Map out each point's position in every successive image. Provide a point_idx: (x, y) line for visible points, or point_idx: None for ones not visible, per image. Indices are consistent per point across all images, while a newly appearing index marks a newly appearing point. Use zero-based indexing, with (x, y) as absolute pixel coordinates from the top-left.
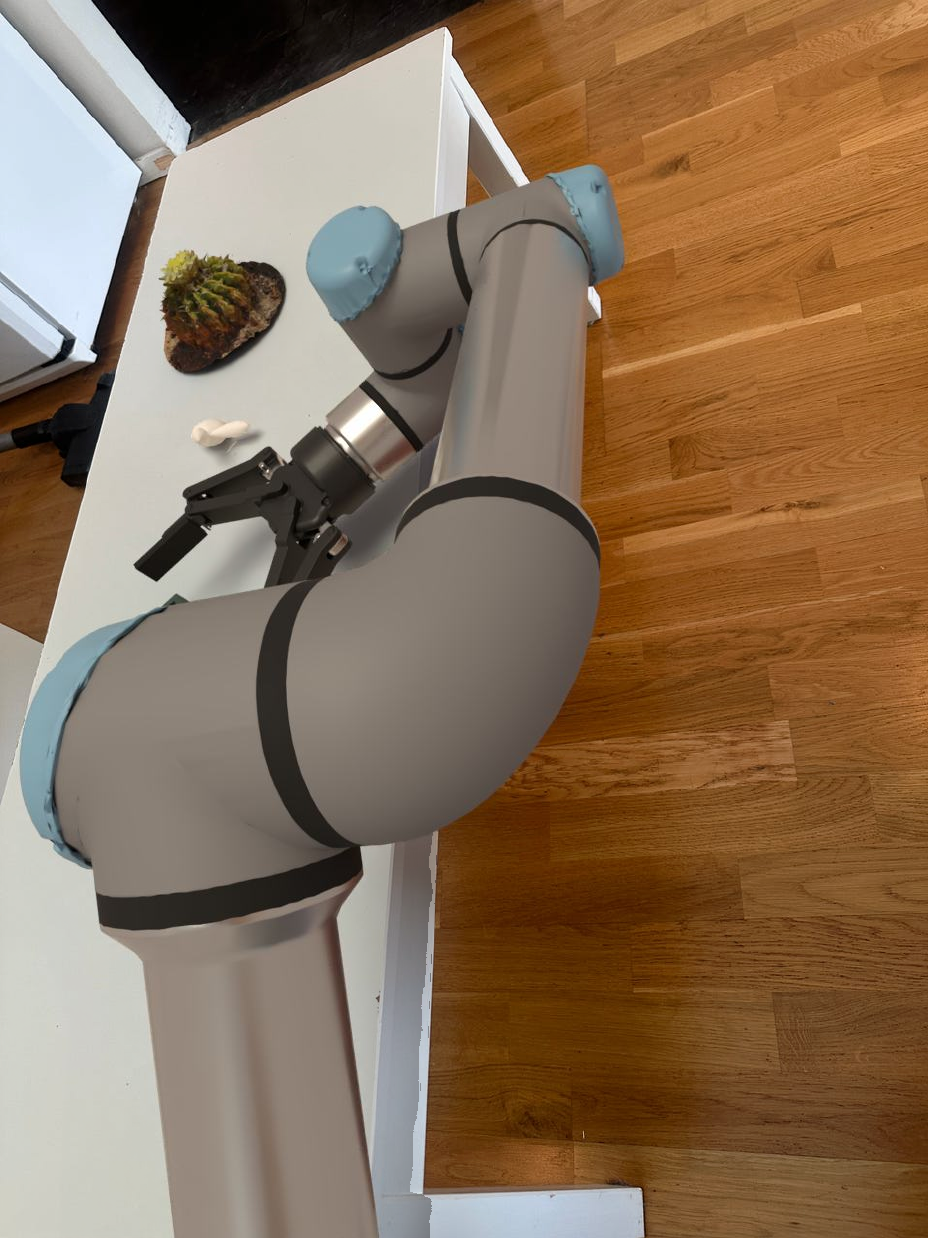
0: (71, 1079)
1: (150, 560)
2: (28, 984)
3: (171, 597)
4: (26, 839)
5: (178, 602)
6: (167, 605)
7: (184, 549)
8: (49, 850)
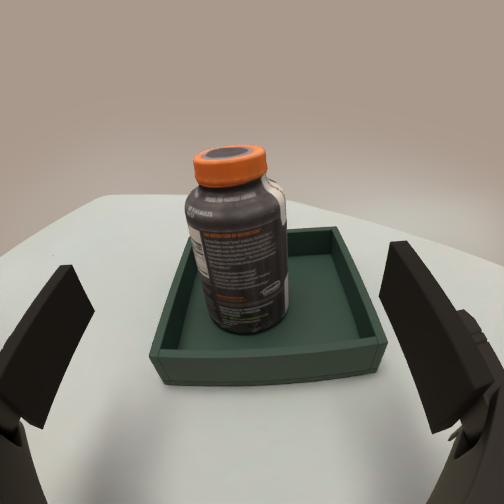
0: (110, 211)
1: (403, 273)
2: (168, 200)
3: (384, 334)
4: None
5: (366, 341)
6: (373, 325)
7: (416, 363)
8: None
